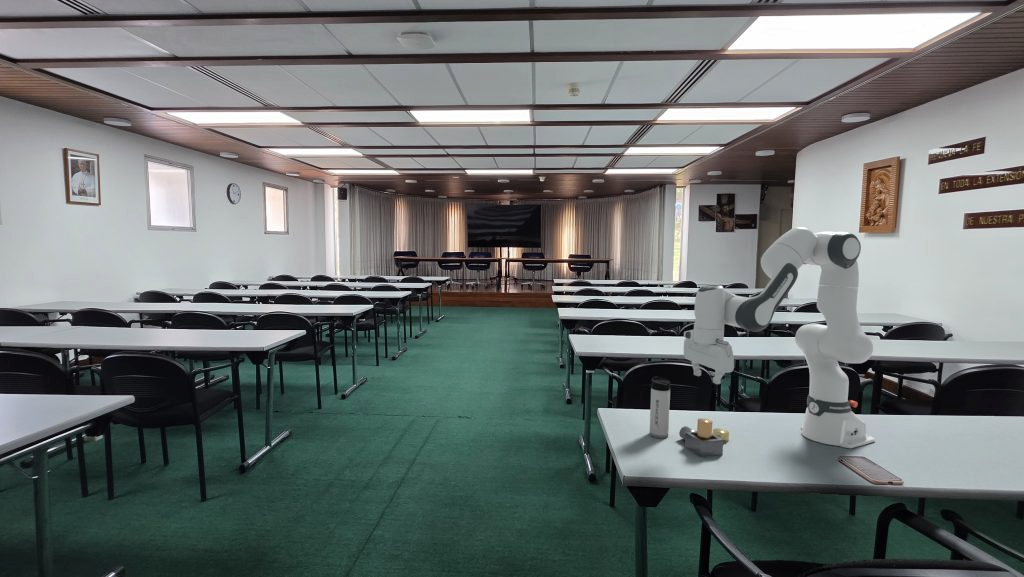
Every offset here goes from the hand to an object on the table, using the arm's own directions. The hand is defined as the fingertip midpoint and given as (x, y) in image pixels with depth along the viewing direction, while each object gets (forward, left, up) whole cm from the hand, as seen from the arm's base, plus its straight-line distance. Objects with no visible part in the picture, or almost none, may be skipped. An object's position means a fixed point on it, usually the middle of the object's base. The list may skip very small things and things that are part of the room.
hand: (706, 379), depth 149 cm
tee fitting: (0, -3, -24) cm, 24 cm away
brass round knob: (-12, -7, -24) cm, 27 cm away
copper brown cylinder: (0, 0, -24) cm, 24 cm away
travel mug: (+7, -15, -24) cm, 29 cm away
